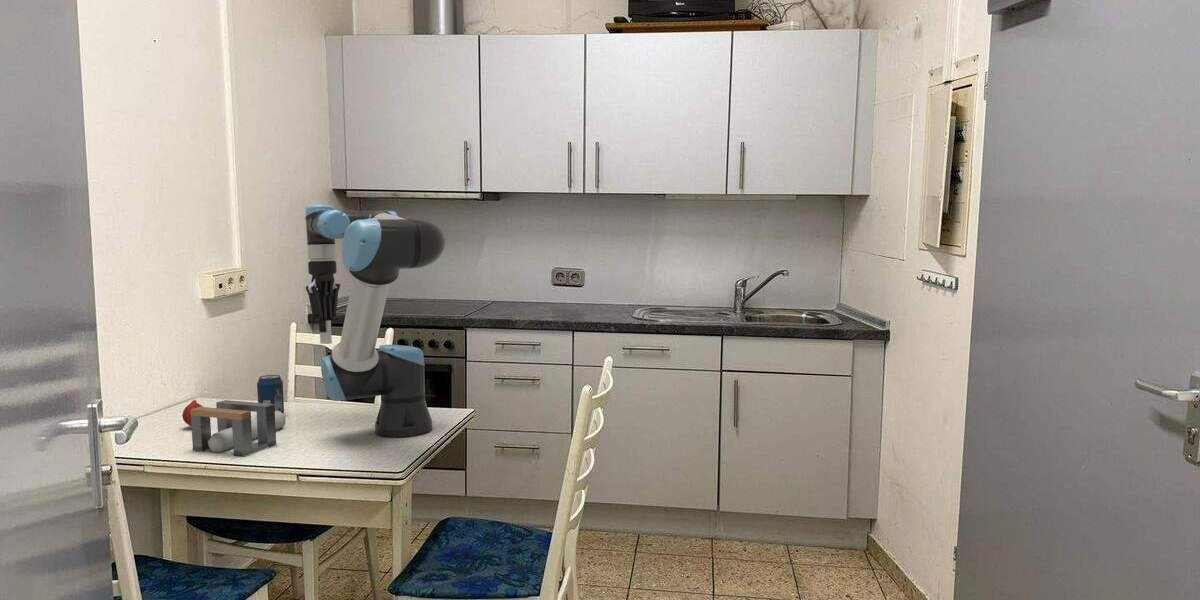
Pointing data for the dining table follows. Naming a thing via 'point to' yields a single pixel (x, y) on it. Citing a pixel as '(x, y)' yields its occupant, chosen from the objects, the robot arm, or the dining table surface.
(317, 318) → the robot arm
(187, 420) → the onion
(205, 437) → the gray frame
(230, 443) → the tube
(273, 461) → the dining table surface
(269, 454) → the dining table surface
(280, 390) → the soda can
